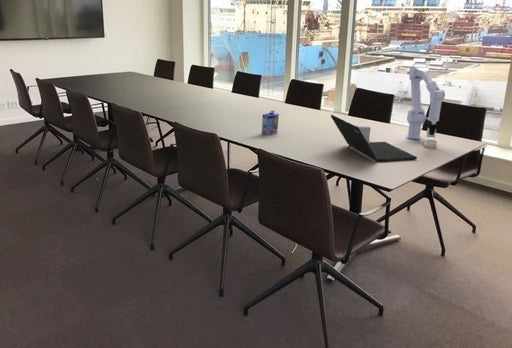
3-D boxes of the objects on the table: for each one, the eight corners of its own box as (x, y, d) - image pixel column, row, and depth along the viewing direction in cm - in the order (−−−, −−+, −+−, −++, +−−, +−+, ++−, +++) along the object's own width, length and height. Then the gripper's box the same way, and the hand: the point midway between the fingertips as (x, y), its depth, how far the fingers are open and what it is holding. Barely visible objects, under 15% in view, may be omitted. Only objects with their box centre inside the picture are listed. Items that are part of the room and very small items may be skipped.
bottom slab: (423, 144, 285) (423, 141, 285) (435, 145, 284) (435, 142, 283) (423, 147, 279) (423, 143, 278) (435, 148, 277) (436, 145, 276)
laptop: (417, 160, 253) (422, 125, 247) (353, 164, 243) (357, 127, 237) (384, 144, 283) (389, 111, 277) (326, 146, 273) (329, 113, 267)
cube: (426, 135, 282) (427, 127, 281) (434, 136, 281) (435, 128, 279) (426, 137, 278) (427, 129, 276) (434, 137, 277) (436, 130, 275)
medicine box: (367, 139, 290) (368, 125, 288) (369, 141, 286) (370, 127, 283) (354, 139, 290) (355, 125, 287) (356, 141, 286) (357, 127, 283)
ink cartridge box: (267, 135, 292) (268, 112, 287) (261, 133, 295) (261, 110, 291) (278, 132, 299) (279, 110, 294) (271, 131, 302) (272, 108, 298)
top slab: (423, 141, 284) (423, 137, 283) (433, 142, 283) (434, 138, 283) (425, 144, 278) (426, 140, 277) (436, 144, 278) (436, 141, 277)
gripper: (427, 108, 282) (423, 130, 286) (427, 112, 269) (424, 136, 273) (439, 109, 280) (436, 131, 285) (441, 113, 267) (437, 137, 271)
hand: (431, 133), depth 279 cm, fingers closed on cube, 4 cm apart
